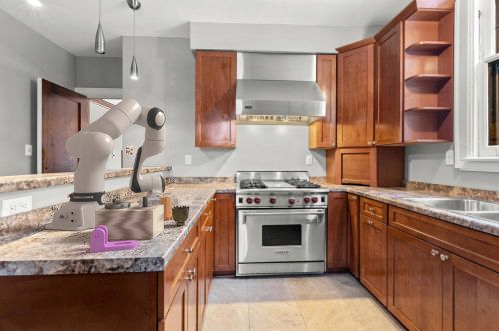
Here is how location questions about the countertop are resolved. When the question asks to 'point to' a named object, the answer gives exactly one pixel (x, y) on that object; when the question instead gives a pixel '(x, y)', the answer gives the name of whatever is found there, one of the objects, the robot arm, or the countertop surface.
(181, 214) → the cup
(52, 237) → the countertop surface
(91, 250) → the bracket
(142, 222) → the gearbox
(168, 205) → the orange gear
